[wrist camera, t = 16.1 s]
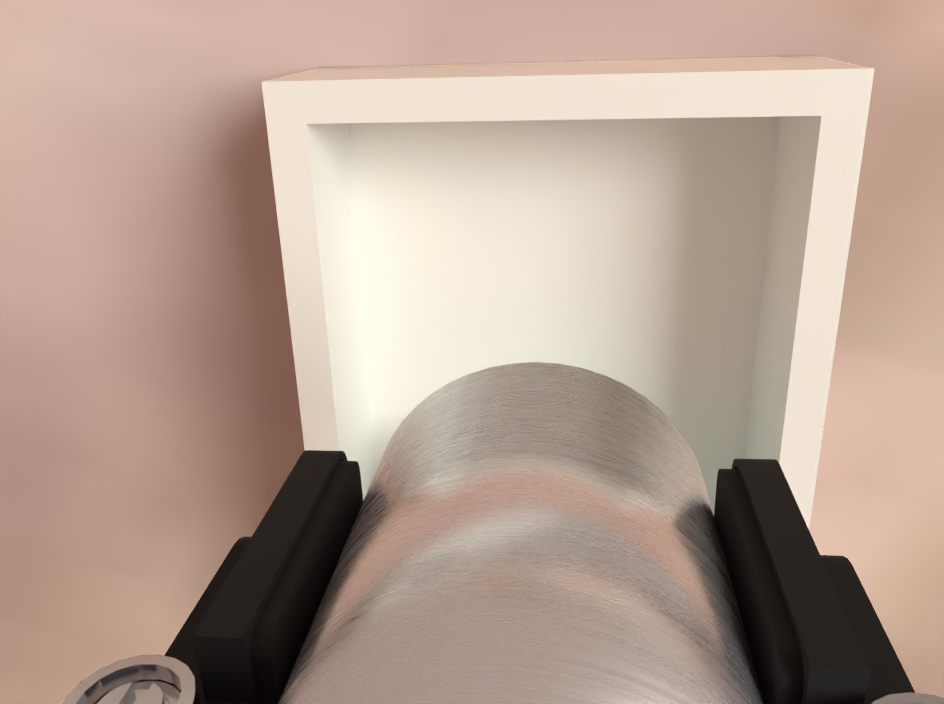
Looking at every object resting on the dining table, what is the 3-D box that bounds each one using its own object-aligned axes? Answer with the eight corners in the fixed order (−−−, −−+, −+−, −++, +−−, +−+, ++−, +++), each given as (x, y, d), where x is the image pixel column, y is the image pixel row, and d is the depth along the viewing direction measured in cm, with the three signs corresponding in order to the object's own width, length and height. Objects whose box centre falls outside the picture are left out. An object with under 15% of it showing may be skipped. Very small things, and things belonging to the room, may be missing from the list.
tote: (815, 55, 23) (874, 68, 19) (753, 592, 30) (784, 699, 25) (319, 67, 25) (261, 81, 20) (366, 574, 32) (330, 671, 27)
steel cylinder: (718, 363, 12) (900, 815, 5) (697, 653, 13) (810, 1249, 7) (360, 361, 12) (121, 763, 6) (388, 639, 14) (230, 1177, 8)
